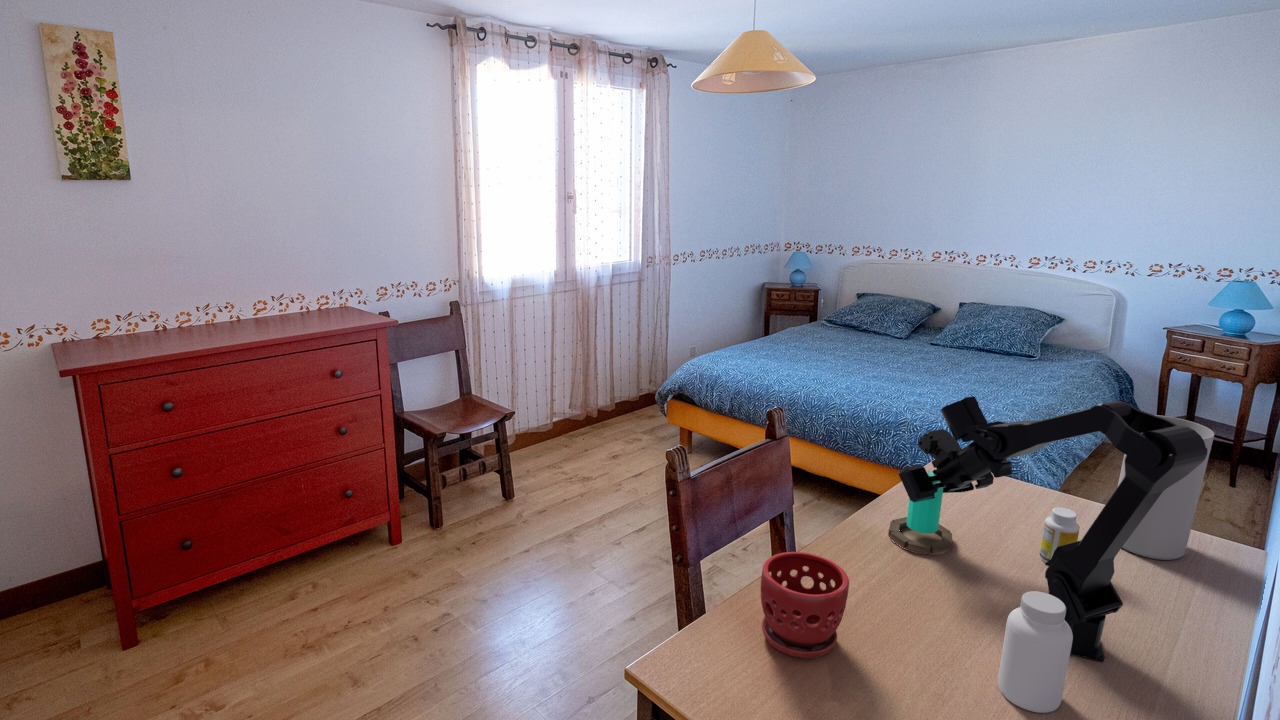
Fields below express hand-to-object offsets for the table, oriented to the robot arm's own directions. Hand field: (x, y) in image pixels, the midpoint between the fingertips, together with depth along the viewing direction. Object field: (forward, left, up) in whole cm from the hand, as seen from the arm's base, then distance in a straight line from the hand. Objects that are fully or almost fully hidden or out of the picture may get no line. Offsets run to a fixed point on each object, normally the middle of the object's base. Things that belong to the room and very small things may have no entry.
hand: (920, 492), depth 137 cm
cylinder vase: (+15, -42, -10) cm, 46 cm away
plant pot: (-41, +15, -10) cm, 45 cm away
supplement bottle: (+1, -25, -10) cm, 27 cm away
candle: (-1, -1, -7) cm, 7 cm away
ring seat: (-1, -1, -10) cm, 10 cm away
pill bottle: (-40, -17, -10) cm, 44 cm away
